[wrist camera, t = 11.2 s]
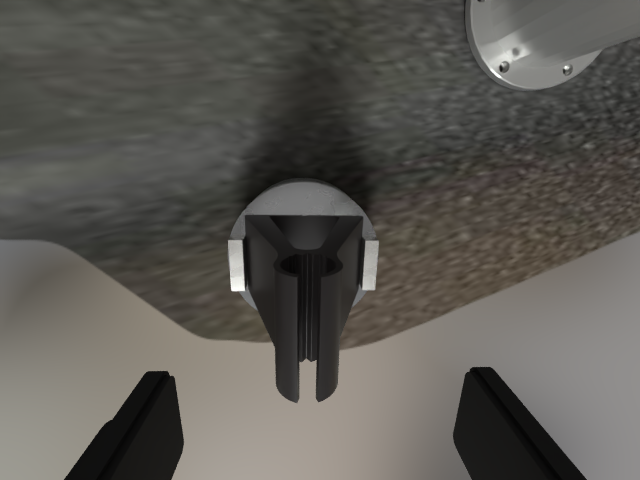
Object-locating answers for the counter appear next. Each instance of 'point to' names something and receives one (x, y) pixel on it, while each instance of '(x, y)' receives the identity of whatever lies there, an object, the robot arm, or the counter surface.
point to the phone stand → (304, 290)
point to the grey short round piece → (304, 200)
